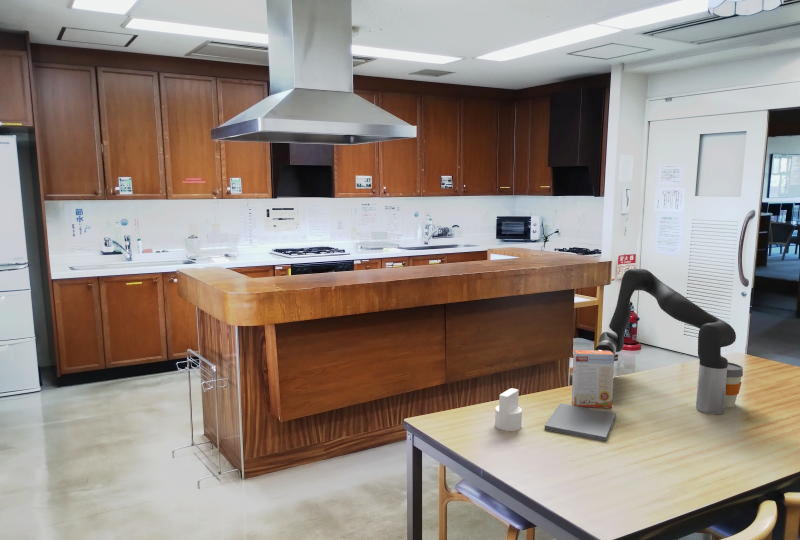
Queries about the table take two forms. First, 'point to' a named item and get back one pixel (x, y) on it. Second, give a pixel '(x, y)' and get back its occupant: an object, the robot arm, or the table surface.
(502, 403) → the cylinder with rectangular tab
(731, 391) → the reusable coffee cup
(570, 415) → the board
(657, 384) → the table surface
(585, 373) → the cracker box
